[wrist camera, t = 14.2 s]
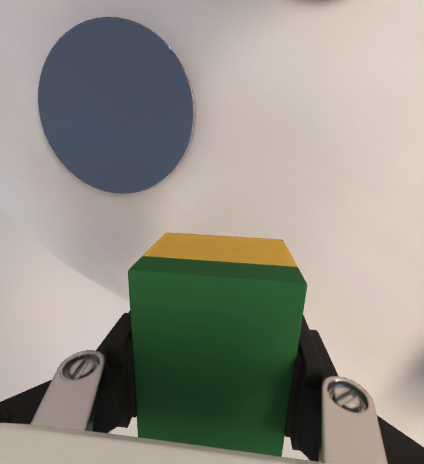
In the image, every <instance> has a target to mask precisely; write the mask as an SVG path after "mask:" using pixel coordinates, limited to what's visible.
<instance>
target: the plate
mask: <svg viewBox="0 0 424 464" xmlns="http://www.w3.org/2000/svg"><path fill="white" fill-rule="evenodd" d="M38 104H39V113H40V118H41V123H42V126H43V129H44V132H45V135H46V137H47V139H48V142H49V144H50V146H51V147H52V149H53V151H54V152H55V154H56V155H57V157H58V158H59V159H60V161H61V162H62V163H63V164H64V165H65V167H66V168H67V169H68V170H69V171H70V172H72V173H73V174H74V175H75V176H76V177H78V178H79V179H81V180H82V181H84V182H85V183H87V184H89V185H91V186H93V187H95V188H98V189H100V190H104V191H108V192H113V193H133V192H139V191H142V190H145V189H148V188H151V187H153V186H155V185H157V184H159V183H161V182H162V181H164V180H165V179H167V178H168V177H169V176H170V175H171V174H172V173H173V172H174V171H175V170H176V169H177V167H178V166H179V165H180V164H181V162H182V160H183V159H184V157H185V156H186V153H187V151H188V149H189V147H190V144H191V141H192V137H193V132H194V127H195V102H194V96H193V91H192V88H191V85H190V81H189V79H188V77H187V74H186V72H185V70H184V68H183V66H182V65H181V63H180V61H179V60H178V58H177V56H176V55H175V54H174V52H173V51H172V50H171V48H170V47H169V46H168V45H167V44H166V43H165V42H164V41H163V40H162V39H161V38H160V37H159V36H158V35H156V34H155V33H154V32H152V31H151V30H150V29H148V28H146V27H144V26H143V25H141V24H139V23H136V22H133V21H131V20H127V19H123V18H118V17H102V18H95V19H91V20H88V21H85V22H83V23H80V24H78V25H76V26H75V27H73V28H72V29H70V30H69V31H67V32H66V33H65V34H64V35H63V36H62V37H61V38H60V39H59V40H58V41H57V43H56V44H55V45H54V46H53V48H52V49H51V51H50V53H49V55H48V56H47V58H46V61H45V63H44V66H43V69H42V73H41V76H40V82H39V89H38Z"/></svg>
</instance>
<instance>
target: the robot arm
mask: <svg viewBox="0 0 424 464" xmlns="http://www.w3.org/2000/svg"><path fill="white" fill-rule="evenodd" d="M136 416H137V401H136V384H135V367H134V350H133V342H132V329H131V312H130V311H129V313H124V314H123V315H122V316H121V318H120V319H119V320H118V322H117V323H116V324H115V326H114V327H113V328H112V330H111V331H110V332H109V334H108V335H107V336H106V338H105V339H104V340H103V342H102V343H101V344H100V346H99V347H98V348H97V350H96V351H94V350H86V351H81V352H78V353H76V354H73V355H71V356H70V357H68V358H67V359H65V360H64V361H63V362H62V363H61V364H60V366H59V367H58V369H57V371H56V373H55V375H54V377H53V379H52V380H50V381H48V382H45V383H43V384H41V385H38V386H36V387H34V388H31V389H29V390H27V391H25V392H22V393H20V394H18V395H15V396H13V397H11V398H8V399H6V400H4V401H1V402H0V464H424V447H422V446H421V445H419V444H418V443H417V442H415V441H414V440H412V439H411V438H409V437H408V436H406V435H405V434H403V433H402V432H401V431H399V430H398V429H396V428H395V427H393V426H392V425H390V424H389V423H387V422H386V421H385V420H383V419H382V418H380V417H379V416H377V414H376V410H375V405H374V402H373V400H372V397H371V396H370V395H369V393H368V392H367V391H366V390H365V389H364V388H363V387H362V386H360V385H359V384H357V383H356V382H354V381H352V380H350V379H347V378H345V377H340V376H338V374H337V372H336V370H335V368H334V365H333V363H332V361H331V359H330V357H329V355H328V352H327V350H326V348H325V346H324V344H323V342H322V339H321V337H320V335H319V333H318V331H316V330H309V328H308V325H307V323H306V320H305V318H304V316H302V323H301V330H300V336H299V343H298V350H297V356H296V360H295V367H294V373H293V380H292V387H291V393H290V400H289V407H288V413H287V420H286V426H285V433H284V434H285V436H286V437H290V439H291V444H292V449H293V450H300V451H301V452H303V453H304V454H305V455H306V456H307V457H308V461H307V460H300V459H293V458H286V457H279V456H272V455H265V454H258V453H251V452H244V451H236V450H229V449H221V448H214V447H207V446H199V445H192V444H184V443H177V442H169V441H162V440H154V439H147V438H139V437H130V436H123V435H115V434H111V430H113V429H114V428H116V427H125V428H127V427H128V425H129V423H130V421H131V418H132V417H136Z"/></svg>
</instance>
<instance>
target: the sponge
mask: <svg viewBox="0 0 424 464" xmlns="http://www.w3.org/2000/svg"><path fill="white" fill-rule="evenodd" d="M128 279H129V296H130V312H131V329H132V342H133V350H134V367H135V384H136V401H137V427H138V437H139V438H147V439H154V440H162V441H169V442H177V443H184V444H192V445H199V446H207V447H214V448H221V449H229V450H236V451H244V452H251V453H258V454H265V455H272V456H279V457H281V456H282V449H283V443H284V436H285V434H284V433H285V426H286V420H287V413H288V407H289V400H290V393H291V387H292V380H293V373H294V367H295V360H296V356H297V350H298V343H299V336H300V330H301V323H302V316H303V310H304V303H305V296H306V290H307V283H306V281H305V279H304V278H303V276H302V274H301V272H300V270H299V268H298V267H297V265H296V263H295V261H294V259H293V257H292V256H291V254H290V252H289V250H288V248H287V247H286V245H285V243H284V241H283V240H279V239H263V238H247V237H230V236H214V235H198V234H182V233H165V234H164V235H163V236H162V237H161V238H160V239H159V240H158V241H157V242H156V243H155V244H154V245H153V246H152V247H151V248H150V249H149V250H148V251H147V252H146V253H145V254H144V255H143V256H142V257H141V258H140V259H139V260H138V261H137V262H136V263H135V264H134V265H133V266H132V267H131V268H130V269H129V270H128Z"/></svg>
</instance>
